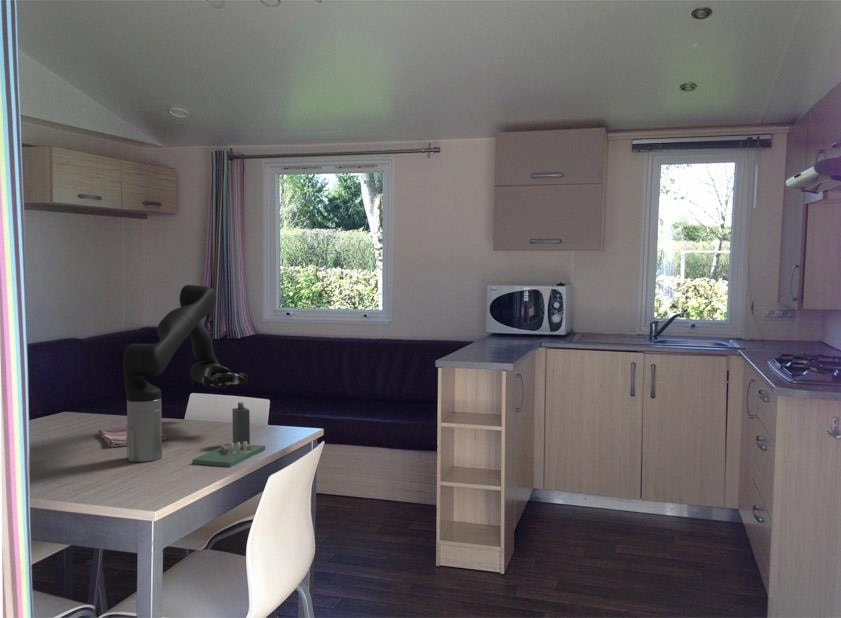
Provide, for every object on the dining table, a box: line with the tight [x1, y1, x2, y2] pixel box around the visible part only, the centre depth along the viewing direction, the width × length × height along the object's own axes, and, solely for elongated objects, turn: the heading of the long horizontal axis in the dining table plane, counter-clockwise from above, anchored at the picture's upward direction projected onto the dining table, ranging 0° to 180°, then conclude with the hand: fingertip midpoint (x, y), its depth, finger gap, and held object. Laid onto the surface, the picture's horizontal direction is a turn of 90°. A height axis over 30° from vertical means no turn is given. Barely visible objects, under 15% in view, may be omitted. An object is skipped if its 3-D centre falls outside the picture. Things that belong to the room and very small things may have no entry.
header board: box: [191, 441, 266, 468], centre depth 203 cm, size 20×12×4 cm, turn 165°
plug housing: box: [231, 401, 251, 445], centre depth 219 cm, size 4×5×13 cm
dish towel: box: [97, 427, 167, 448], centre depth 227 cm, size 17×23×4 cm
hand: (230, 382), depth 227 cm, fingers open, 8 cm apart
